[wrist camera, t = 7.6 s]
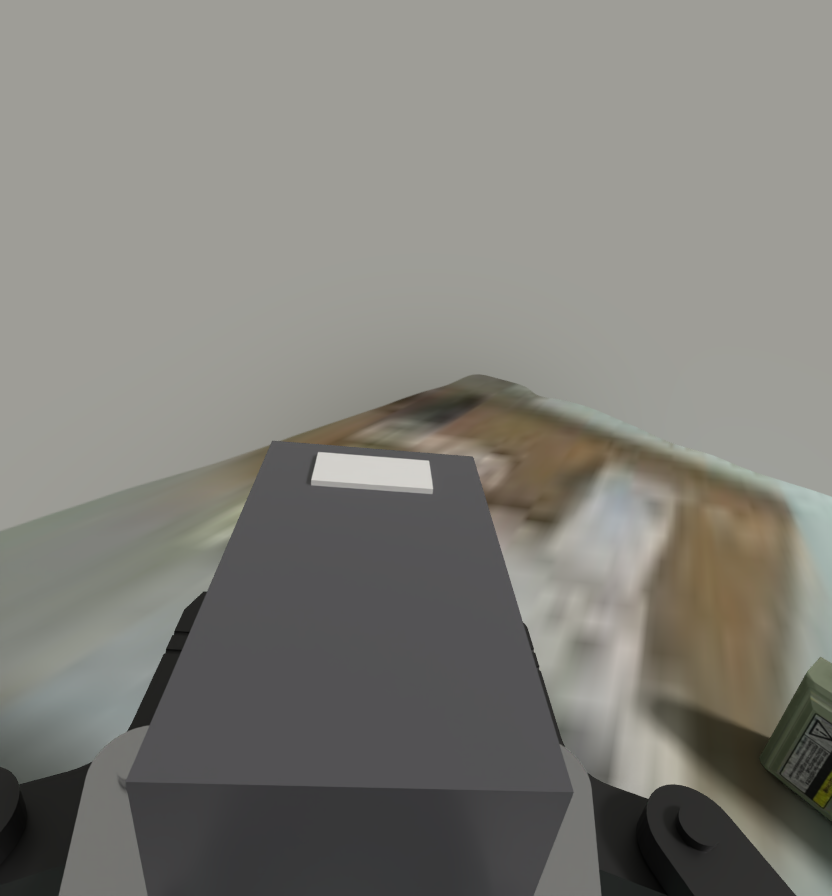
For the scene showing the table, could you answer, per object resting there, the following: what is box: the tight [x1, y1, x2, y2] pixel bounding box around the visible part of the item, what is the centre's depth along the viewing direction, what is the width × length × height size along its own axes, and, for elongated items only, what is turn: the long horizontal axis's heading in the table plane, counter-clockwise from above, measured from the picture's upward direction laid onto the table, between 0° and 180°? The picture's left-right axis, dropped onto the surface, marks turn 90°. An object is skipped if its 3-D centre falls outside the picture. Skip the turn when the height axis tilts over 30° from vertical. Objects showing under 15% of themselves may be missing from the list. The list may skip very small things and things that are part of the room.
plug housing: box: [125, 441, 574, 896], centre depth 9 cm, size 6×4×9 cm, turn 3°
